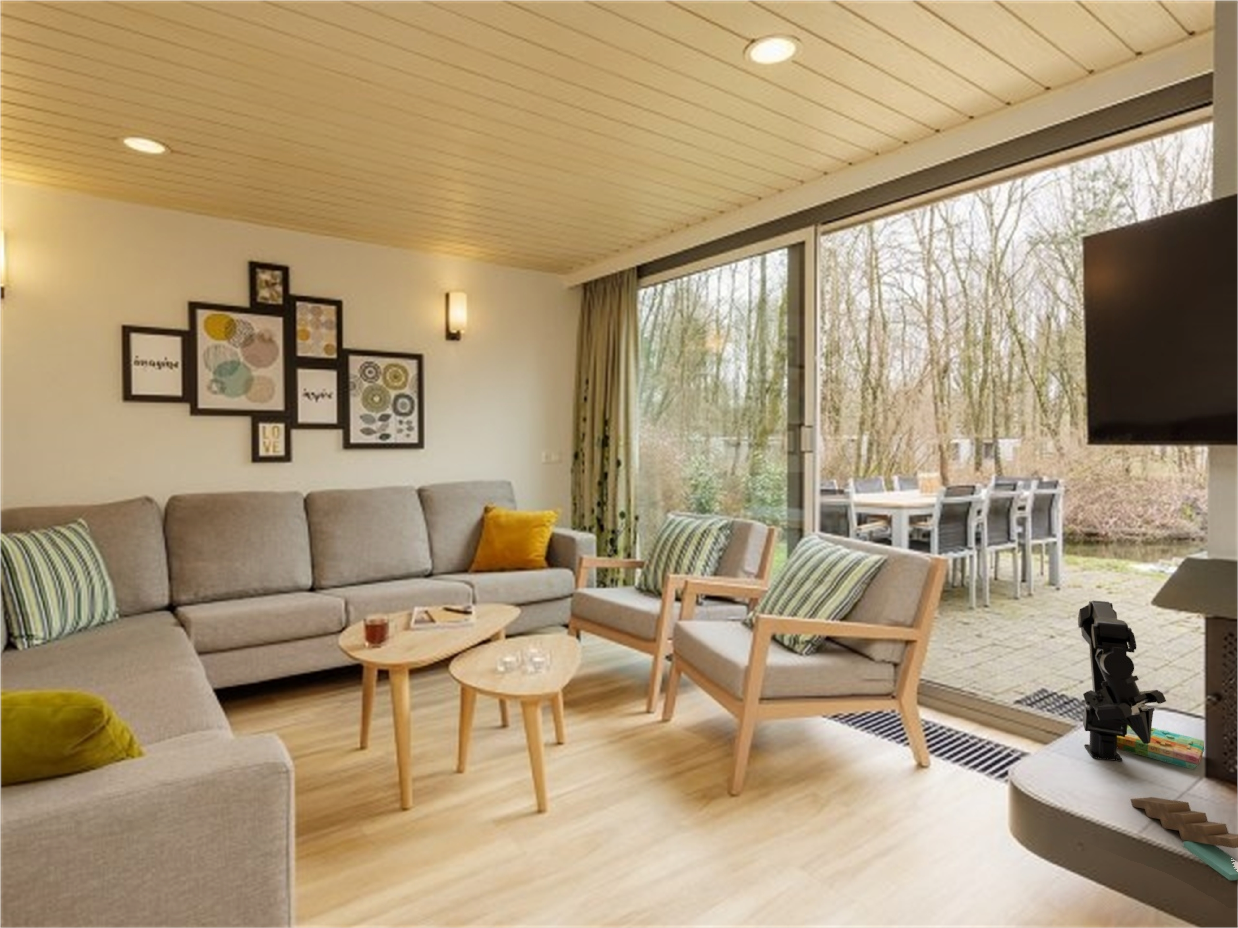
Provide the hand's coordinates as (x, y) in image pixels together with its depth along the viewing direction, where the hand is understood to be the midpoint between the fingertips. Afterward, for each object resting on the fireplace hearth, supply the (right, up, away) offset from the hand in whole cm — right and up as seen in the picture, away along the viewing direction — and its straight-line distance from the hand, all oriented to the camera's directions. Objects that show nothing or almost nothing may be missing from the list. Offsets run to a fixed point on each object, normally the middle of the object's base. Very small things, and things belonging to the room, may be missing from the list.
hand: (1147, 743), depth 159 cm
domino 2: (-5, -11, -9) cm, 15 cm away
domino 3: (-5, -12, -13) cm, 18 cm away
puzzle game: (+15, -10, +18) cm, 25 cm away
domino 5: (-5, -13, -19) cm, 24 cm away
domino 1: (-5, -11, -5) cm, 13 cm away
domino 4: (-5, -12, -17) cm, 21 cm away
